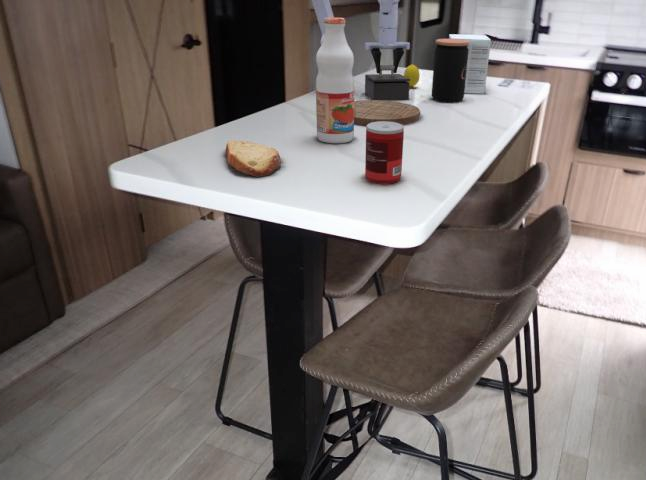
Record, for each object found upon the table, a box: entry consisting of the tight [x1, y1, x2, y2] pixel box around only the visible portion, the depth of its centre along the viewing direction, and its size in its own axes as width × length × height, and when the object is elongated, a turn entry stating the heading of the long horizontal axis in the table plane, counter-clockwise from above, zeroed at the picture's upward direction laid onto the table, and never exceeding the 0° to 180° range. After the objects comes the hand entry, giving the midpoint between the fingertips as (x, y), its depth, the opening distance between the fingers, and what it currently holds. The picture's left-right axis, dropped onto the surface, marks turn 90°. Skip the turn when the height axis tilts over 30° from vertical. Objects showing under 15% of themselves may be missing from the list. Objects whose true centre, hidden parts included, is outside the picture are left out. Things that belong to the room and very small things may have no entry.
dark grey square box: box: [364, 76, 410, 101], centre depth 197 cm, size 12×12×5 cm
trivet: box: [354, 99, 421, 127], centre depth 174 cm, size 25×25×2 cm
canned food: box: [364, 121, 405, 185], centre depth 123 cm, size 8×8×11 cm
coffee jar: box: [431, 38, 469, 104], centre depth 192 cm, size 11×11×18 cm
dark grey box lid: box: [364, 64, 410, 82], centre depth 194 cm, size 12×12×4 cm
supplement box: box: [448, 33, 492, 95], centre depth 207 cm, size 13×13×18 cm
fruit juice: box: [315, 16, 355, 144], centre depth 144 cm, size 9×9×28 cm
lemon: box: [403, 63, 421, 89], centre depth 211 cm, size 6×6×8 cm
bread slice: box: [225, 140, 282, 178], centre depth 132 cm, size 18×18×4 cm
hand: (386, 72), depth 195 cm, fingers closed on dark grey box lid, 5 cm apart
